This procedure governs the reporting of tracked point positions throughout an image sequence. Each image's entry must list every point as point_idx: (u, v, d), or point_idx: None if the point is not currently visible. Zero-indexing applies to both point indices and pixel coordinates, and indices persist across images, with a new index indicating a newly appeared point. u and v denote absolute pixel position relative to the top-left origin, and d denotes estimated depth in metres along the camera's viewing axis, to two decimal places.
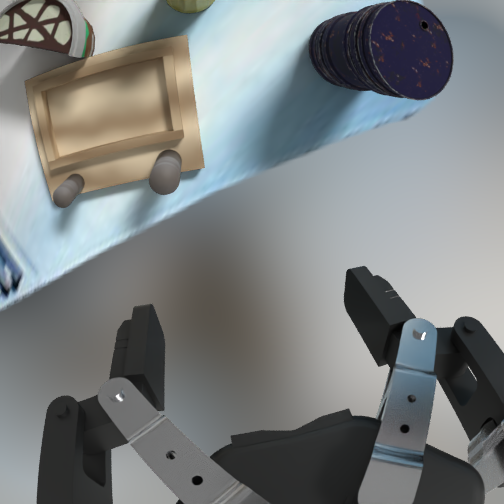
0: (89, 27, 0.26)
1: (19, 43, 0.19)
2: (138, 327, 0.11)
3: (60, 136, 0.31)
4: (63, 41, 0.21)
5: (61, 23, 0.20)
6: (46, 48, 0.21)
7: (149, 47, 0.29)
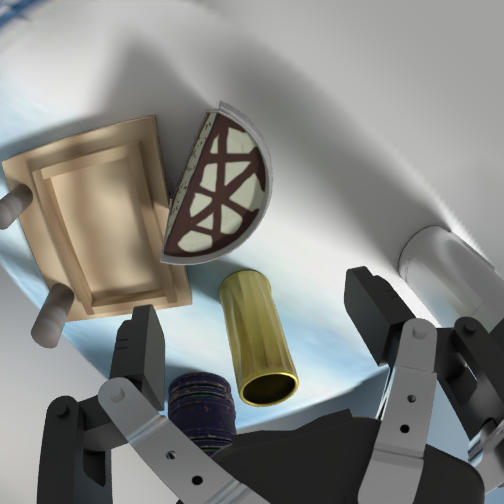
0: None
1: (194, 179, 0.21)
2: (138, 327, 0.11)
3: (73, 175, 0.26)
4: (182, 243, 0.23)
5: (209, 238, 0.24)
6: (177, 220, 0.22)
7: (177, 274, 0.33)
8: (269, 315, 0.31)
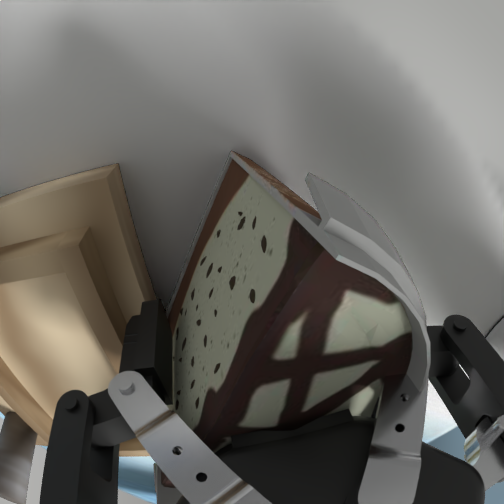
0: None
1: (223, 418, 0.07)
2: (147, 322, 0.11)
3: None
4: None
5: None
6: None
7: None
8: None
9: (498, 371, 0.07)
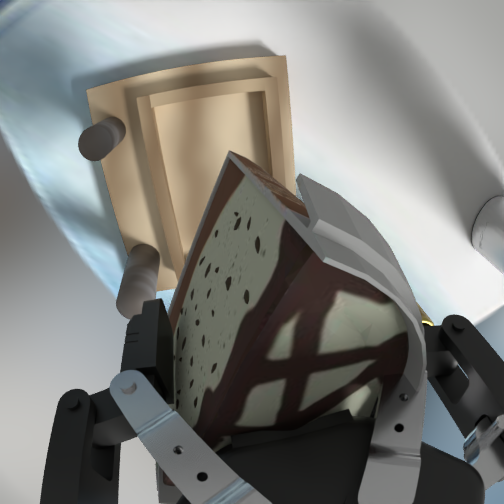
0: None
1: (220, 417, 0.07)
2: (148, 321, 0.11)
3: (185, 109, 0.23)
4: None
5: None
6: None
7: None
8: None
9: (497, 371, 0.07)
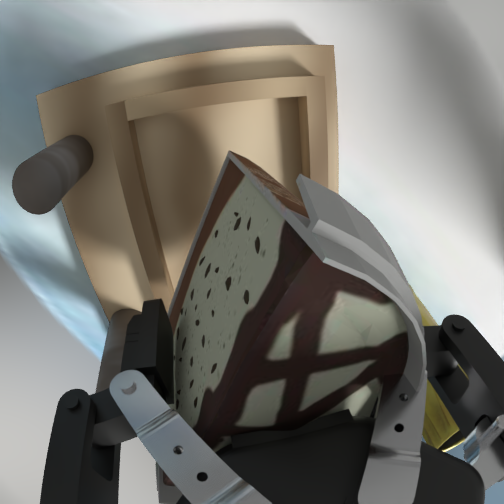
0: None
1: (220, 418, 0.07)
2: (148, 321, 0.11)
3: (181, 121, 0.15)
4: None
5: None
6: None
7: None
8: None
9: (497, 371, 0.07)
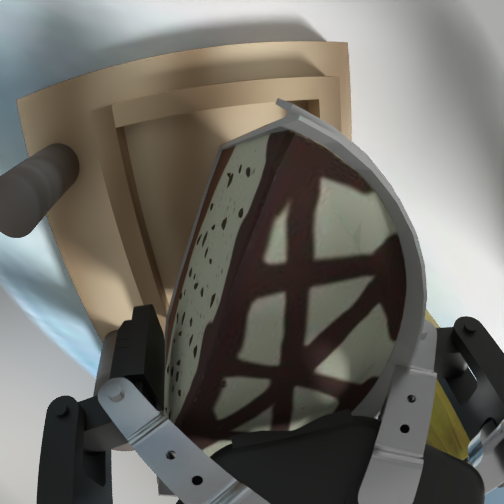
0: None
1: (220, 345, 0.07)
2: (138, 327, 0.11)
3: (177, 127, 0.14)
4: None
5: None
6: (183, 427, 0.08)
7: None
8: None
9: None
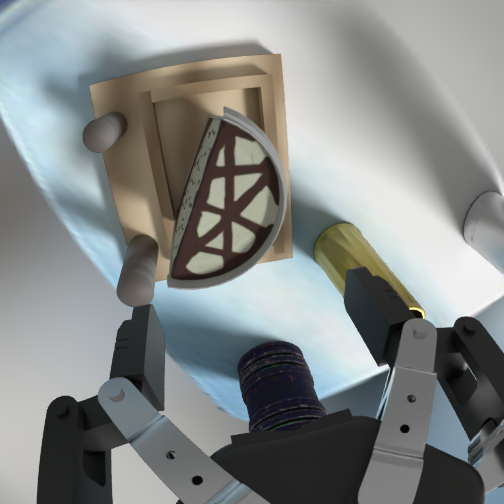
0: None
1: (200, 196, 0.19)
2: (138, 327, 0.11)
3: (184, 104, 0.24)
4: (191, 265, 0.21)
5: (220, 259, 0.22)
6: (183, 242, 0.20)
7: (284, 222, 0.31)
8: (381, 260, 0.30)
9: None
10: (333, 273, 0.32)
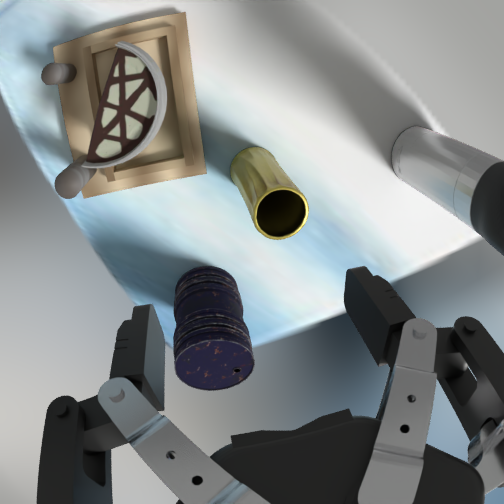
0: None
1: (102, 97, 0.23)
2: (138, 327, 0.11)
3: None
4: (99, 151, 0.26)
5: (118, 144, 0.26)
6: (93, 132, 0.25)
7: (195, 141, 0.36)
8: (277, 166, 0.34)
9: None
10: (238, 182, 0.36)
